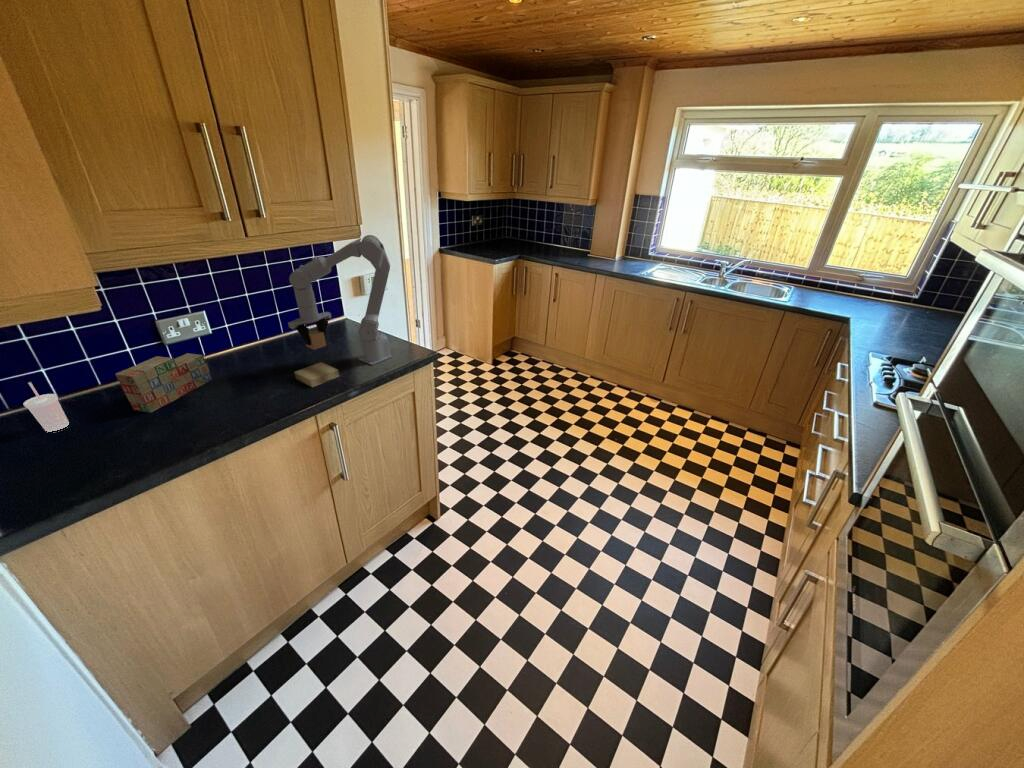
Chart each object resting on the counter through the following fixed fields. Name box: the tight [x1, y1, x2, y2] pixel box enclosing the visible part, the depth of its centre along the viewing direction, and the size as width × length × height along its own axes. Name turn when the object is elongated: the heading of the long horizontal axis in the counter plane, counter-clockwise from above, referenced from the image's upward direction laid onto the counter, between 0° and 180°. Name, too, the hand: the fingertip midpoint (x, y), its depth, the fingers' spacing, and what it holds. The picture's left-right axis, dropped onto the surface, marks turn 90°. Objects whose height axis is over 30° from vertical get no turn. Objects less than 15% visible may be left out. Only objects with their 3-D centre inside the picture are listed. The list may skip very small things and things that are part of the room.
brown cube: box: [305, 329, 327, 351], centre depth 143 cm, size 5×5×5 cm
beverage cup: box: [22, 381, 70, 433], centre depth 106 cm, size 6×6×14 cm
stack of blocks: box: [115, 352, 213, 414], centre depth 123 cm, size 21×6×12 cm, turn 168°
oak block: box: [294, 361, 340, 388], centre depth 137 cm, size 10×10×3 cm
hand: (315, 342), depth 143 cm, fingers closed on brown cube, 5 cm apart
